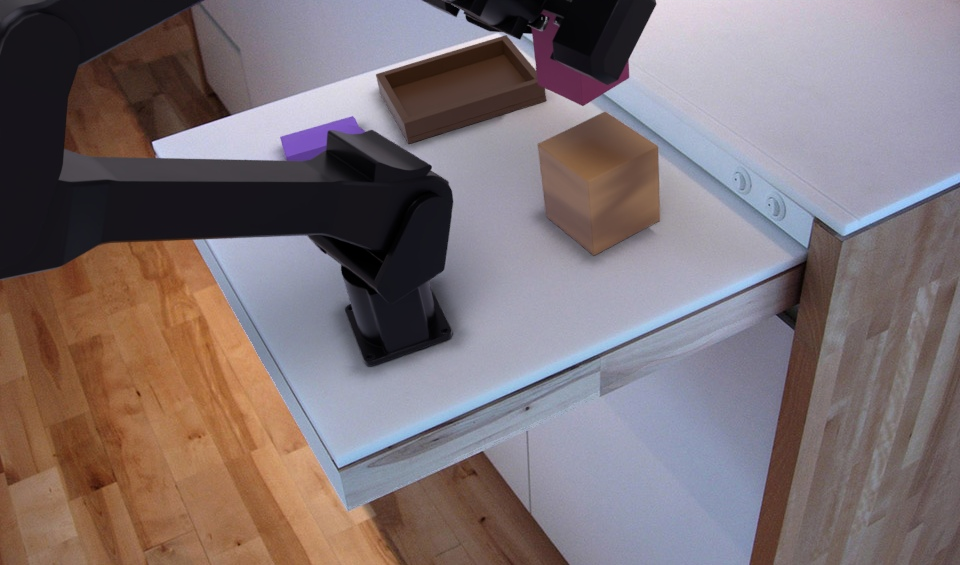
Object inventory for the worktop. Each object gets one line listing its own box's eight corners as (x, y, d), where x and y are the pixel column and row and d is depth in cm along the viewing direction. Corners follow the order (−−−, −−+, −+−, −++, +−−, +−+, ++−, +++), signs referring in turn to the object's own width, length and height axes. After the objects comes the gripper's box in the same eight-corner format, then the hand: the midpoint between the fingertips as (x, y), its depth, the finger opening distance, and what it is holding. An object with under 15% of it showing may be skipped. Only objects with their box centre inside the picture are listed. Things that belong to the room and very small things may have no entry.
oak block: (593, 256, 77) (587, 181, 72) (545, 216, 81) (536, 143, 77) (660, 220, 79) (658, 145, 74) (610, 183, 83) (605, 110, 79)
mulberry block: (582, 106, 73) (575, 14, 68) (537, 85, 76) (527, -5, 71) (629, 78, 75) (625, -14, 70) (583, 57, 78) (576, -31, 73)
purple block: (386, 201, 86) (369, 133, 81) (307, 225, 85) (285, 157, 80) (356, 130, 95) (339, 64, 90) (284, 150, 94) (263, 86, 89)
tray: (546, 100, 94) (544, 80, 92) (408, 144, 92) (403, 123, 90) (509, 54, 101) (506, 34, 100) (380, 93, 99) (375, 73, 97)
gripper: (628, -149, 55) (752, -33, 67) (419, -200, 67) (556, -95, 79) (535, 43, 57) (672, 122, 69) (347, -40, 69) (492, 39, 81)
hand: (594, 38), depth 74 cm, fingers closed on mulberry block, 5 cm apart
